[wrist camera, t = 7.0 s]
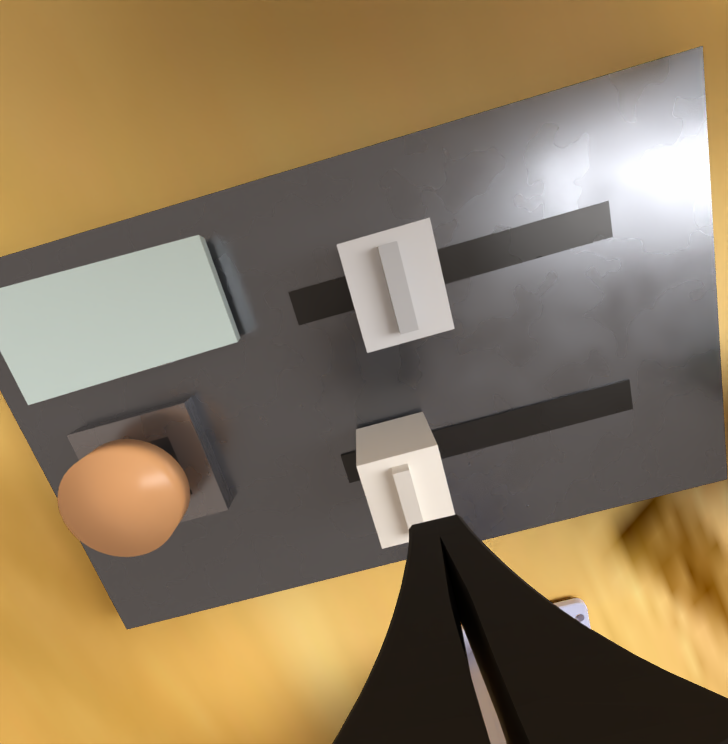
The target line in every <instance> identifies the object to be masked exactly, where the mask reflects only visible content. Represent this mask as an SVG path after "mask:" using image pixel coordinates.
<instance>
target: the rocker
mask: <svg viewBox="0 0 728 744" xmlns="http://www.w3.org/2000/svg"><path fill="white" fill-rule="evenodd" d="M239 339H240V335H239V332H238V330H237V327H236V324H235V321H234V318H233V316H232V313H231V310H230V307H229V305H228V302H227V299H226V296H225V293H224V291H223V288H222V285H221V282H220V280H219V277H218V274H217V271H216V268H215V266H214V263H213V260H212V257H211V255H210V252H209V249H208V246H207V243H206V241H205V238H204V237H202V236H200V235H196V236H192V237H188V238H185V239H181V240H177V241H174V242H170V243H166V244H162V245H159V246H155V247H151V248H147V249H144V250H140V251H136V252H133V253H129V254H125V255H121V256H118V257H114V258H110V259H107V260H103V261H99V262H95V263H92V264H88V265H84V266H80V267H77V268H73V269H69V270H66V271H62V272H58V273H54V274H51V275H47V276H43V277H39V278H36V279H32V280H28V281H25V282H21V283H17V284H13V285H10V286H6V287H2V288H0V352H1V354H2V356H3V357H4V359H5V361H6V363H7V365H8V367H9V369H10V371H11V373H12V375H13V377H14V379H15V381H16V383H17V385H18V387H19V388H20V390H21V392H22V394H23V396H24V398H25V400H26V402H27V404H28V405H31V404H34V403H37V402H41V401H44V400H47V399H51V398H54V397H57V396H61V395H64V394H67V393H71V392H74V391H77V390H80V389H84V388H87V387H90V386H94V385H97V384H100V383H104V382H107V381H110V380H114V379H117V378H120V377H123V376H127V375H130V374H133V373H137V372H140V371H143V370H147V369H150V368H153V367H157V366H160V365H163V364H166V363H170V362H173V361H176V360H180V359H183V358H186V357H190V356H193V355H196V354H200V353H203V352H206V351H209V350H213V349H216V348H219V347H223V346H226V345H229V344H233V343H236V342H238V341H239Z"/></svg>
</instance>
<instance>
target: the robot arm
mask: <svg viewBox="0 0 728 744" xmlns="http://www.w3.org/2000/svg"><path fill="white" fill-rule="evenodd" d="M578 614H579V615H578ZM576 615H578V616H576ZM461 623H462V625H461ZM332 744H728V698H726V697H723V696H721V695H719V694H717V693H715V692H712V691H710V690H708V689H706V688H703V687H701V686H699V685H697V684H694V683H692V682H690V681H688V680H685V679H683V678H681V677H679V676H677V675H674V674H672V673H670V672H668V671H666V670H664V669H662V668H660V667H658V666H656V665H654V664H652V663H650V662H648V661H646V660H644V659H642V658H640V657H638V656H636V655H634V654H633V653H631V652H629V651H627V650H626V649H624V648H622V647H621V646H619V645H617V644H615V643H614V642H612V641H610V640H609V639H607V638H605V637H604V636H602V635H600V634H598V633H597V632H595V631H593V630H592V629H591V628H590V622H589V616H588V610H587V606H586V605H585V603H584V602H583V600H581V599H579V598H573V599H569V600H565V601H560V602H556V603H552V602H550V601H549V600H548V599H546V598H545V597H544V596H542V595H541V594H540V593H538V592H537V591H536V590H535V589H533V588H532V587H531V586H530V585H529V584H527V583H526V582H525V581H524V580H523V579H521V578H520V577H519V576H518V575H517V574H515V573H514V572H513V571H512V570H511V569H510V568H509V567H508V566H506V565H505V564H504V563H503V562H502V561H501V560H500V559H499V558H498V557H497V556H496V555H495V554H494V553H493V552H492V551H491V550H490V549H489V548H488V547H487V546H486V545H485V544H484V543H483V542H482V541H481V540H480V539H479V538H478V537H477V536H476V534H475V533H474V532H473V531H472V530H471V529H470V527H469V526H468V525H467V524H466V522H465V521H464V520H463V518H462V517H461V516H459V515H457V514H456V515H452V516H447V517H443V518H439V519H435V520H431V521H426V522H422V523H418V524H414V525H412V526H411V527H410V528H409V545H408V553H407V560H406V566H405V570H404V575H403V580H402V585H401V589H400V593H399V596H398V600H397V603H396V607H395V610H394V614H393V617H392V620H391V623H390V626H389V629H388V631H387V634H386V637H385V640H384V642H383V645H382V647H381V650H380V652H379V655H378V657H377V659H376V661H375V664H374V666H373V668H372V670H371V673H370V675H369V677H368V679H367V681H366V683H365V686H364V688H363V690H362V692H361V694H360V696H359V697H358V699H357V701H356V703H355V705H354V706H353V708H352V710H351V712H350V714H349V715H348V717H347V719H346V721H345V723H344V724H343V726H342V728H341V730H340V732H339V733H338V735H337V737H336V738H335V740H334V742H333V743H332Z"/></svg>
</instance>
